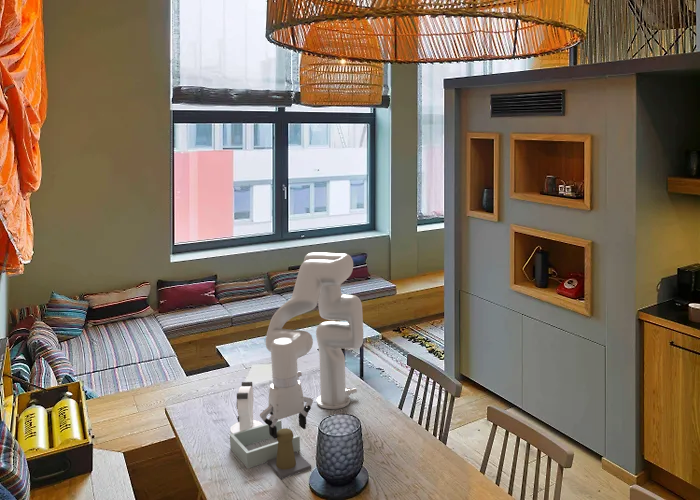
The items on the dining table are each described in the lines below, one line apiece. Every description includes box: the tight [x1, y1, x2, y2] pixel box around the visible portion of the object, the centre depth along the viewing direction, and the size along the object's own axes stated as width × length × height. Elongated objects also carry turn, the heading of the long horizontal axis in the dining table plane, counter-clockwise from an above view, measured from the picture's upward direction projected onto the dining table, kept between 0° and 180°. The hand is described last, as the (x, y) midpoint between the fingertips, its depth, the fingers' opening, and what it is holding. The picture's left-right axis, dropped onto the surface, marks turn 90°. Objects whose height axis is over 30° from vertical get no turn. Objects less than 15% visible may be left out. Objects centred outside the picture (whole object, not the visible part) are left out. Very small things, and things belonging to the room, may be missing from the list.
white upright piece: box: [229, 381, 264, 434], centre depth 200 cm, size 12×11×15 cm
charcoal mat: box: [266, 451, 312, 480], centre depth 177 cm, size 10×10×1 cm
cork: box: [276, 427, 296, 469], centre depth 176 cm, size 6×6×11 cm
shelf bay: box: [229, 419, 301, 469], centre depth 187 cm, size 18×14×5 cm
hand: (288, 432), depth 176 cm, fingers open, 9 cm apart
